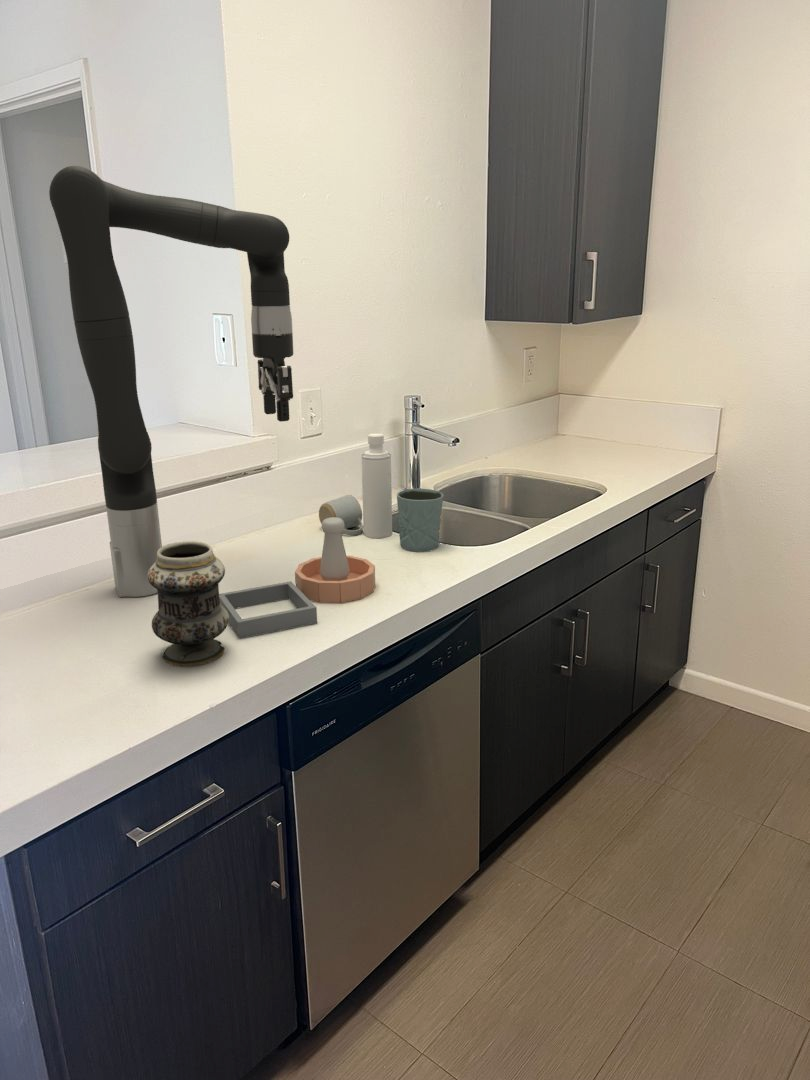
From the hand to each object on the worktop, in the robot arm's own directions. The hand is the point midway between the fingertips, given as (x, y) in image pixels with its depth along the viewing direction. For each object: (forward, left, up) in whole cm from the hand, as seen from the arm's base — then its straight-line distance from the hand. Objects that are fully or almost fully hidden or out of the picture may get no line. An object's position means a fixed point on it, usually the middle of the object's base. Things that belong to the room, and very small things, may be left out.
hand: (276, 417), depth 159 cm
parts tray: (-10, -20, -32) cm, 39 cm away
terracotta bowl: (+6, -13, -32) cm, 35 cm away
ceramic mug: (+21, +21, -32) cm, 44 cm away
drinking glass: (+32, +2, -32) cm, 45 cm away
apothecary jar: (-25, -29, -32) cm, 50 cm away
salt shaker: (+6, -13, -31) cm, 34 cm away
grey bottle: (+27, +14, -32) cm, 44 cm away
